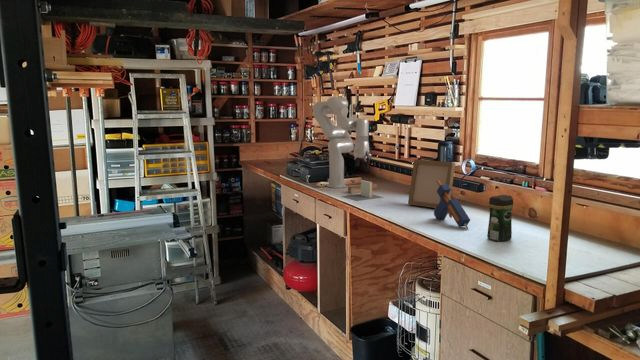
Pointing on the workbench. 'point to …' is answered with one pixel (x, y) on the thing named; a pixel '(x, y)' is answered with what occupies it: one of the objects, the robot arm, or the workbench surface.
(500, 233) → the coffee jar
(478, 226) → the workbench surface
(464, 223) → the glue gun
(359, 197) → the mat
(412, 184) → the photo frame
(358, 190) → the batten
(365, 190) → the tile
